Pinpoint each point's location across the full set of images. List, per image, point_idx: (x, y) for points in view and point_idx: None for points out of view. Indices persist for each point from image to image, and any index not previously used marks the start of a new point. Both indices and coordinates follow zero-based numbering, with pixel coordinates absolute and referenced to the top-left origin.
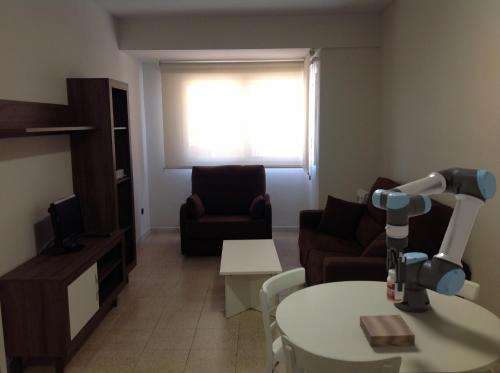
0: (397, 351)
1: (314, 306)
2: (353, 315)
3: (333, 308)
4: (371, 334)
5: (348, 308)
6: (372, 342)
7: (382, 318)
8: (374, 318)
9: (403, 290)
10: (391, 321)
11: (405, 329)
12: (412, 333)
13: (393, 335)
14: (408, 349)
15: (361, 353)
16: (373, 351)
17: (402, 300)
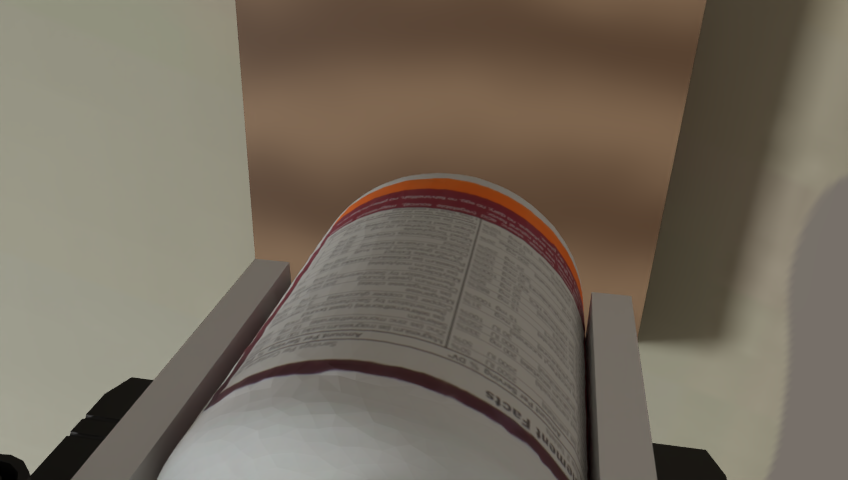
0: (748, 181)
1: None
2: (133, 285)
3: (38, 375)
4: None
5: (20, 279)
6: None
7: (311, 180)
8: (309, 249)
9: (540, 322)
10: (379, 121)
11: (566, 49)
12: (667, 9)
13: (658, 217)
14: (744, 72)
15: (697, 430)
16: (694, 350)
17: (558, 239)
